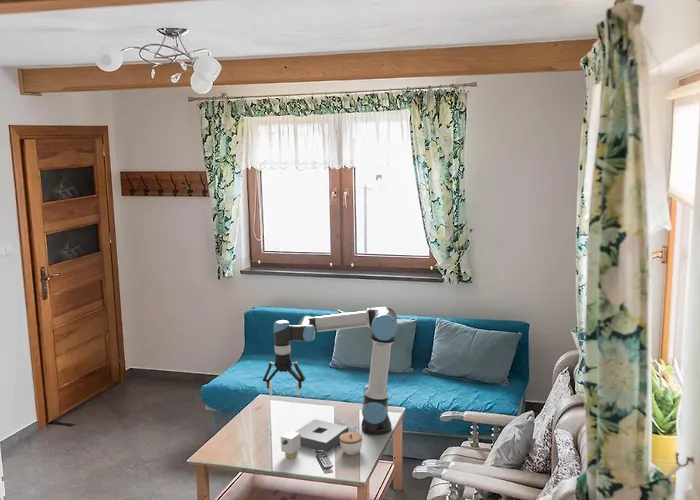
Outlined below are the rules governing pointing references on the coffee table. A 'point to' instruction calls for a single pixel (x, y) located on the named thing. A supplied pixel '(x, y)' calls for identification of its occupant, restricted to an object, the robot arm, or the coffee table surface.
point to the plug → (290, 443)
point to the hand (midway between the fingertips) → (284, 394)
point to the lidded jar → (351, 442)
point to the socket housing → (321, 435)
